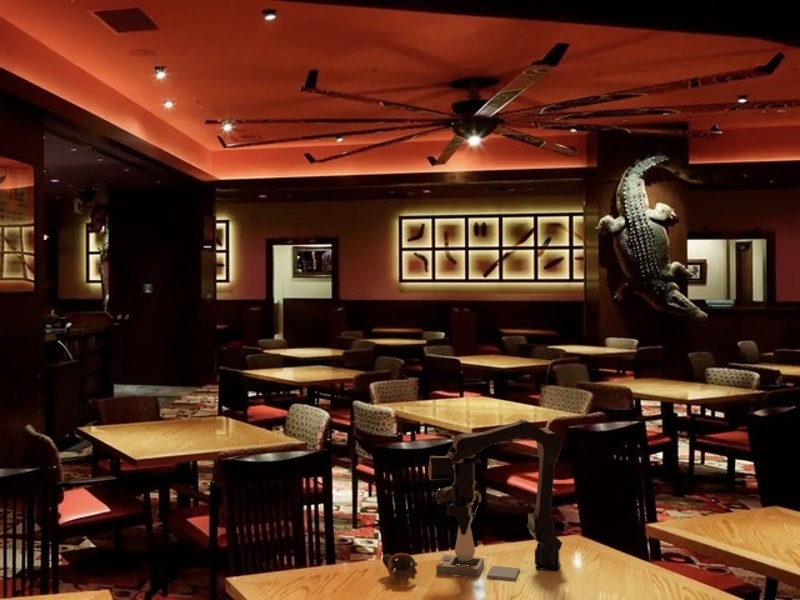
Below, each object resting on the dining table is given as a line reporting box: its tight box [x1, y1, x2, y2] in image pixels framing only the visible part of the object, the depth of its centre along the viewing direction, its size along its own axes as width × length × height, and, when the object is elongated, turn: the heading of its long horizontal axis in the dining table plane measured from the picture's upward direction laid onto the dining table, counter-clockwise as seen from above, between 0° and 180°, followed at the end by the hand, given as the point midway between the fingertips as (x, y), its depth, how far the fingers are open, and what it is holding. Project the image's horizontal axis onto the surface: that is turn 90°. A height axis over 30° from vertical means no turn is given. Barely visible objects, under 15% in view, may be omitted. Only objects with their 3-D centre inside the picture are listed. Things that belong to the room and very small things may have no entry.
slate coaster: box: [486, 565, 520, 582], centre depth 225 cm, size 8×8×1 cm
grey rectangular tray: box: [435, 554, 485, 579], centre depth 229 cm, size 12×10×3 cm
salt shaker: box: [454, 517, 476, 561], centre depth 228 cm, size 6×6×13 cm
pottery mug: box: [382, 552, 418, 585], centre depth 223 cm, size 12×10×8 cm
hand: (464, 532), depth 229 cm, fingers closed on salt shaker, 4 cm apart
